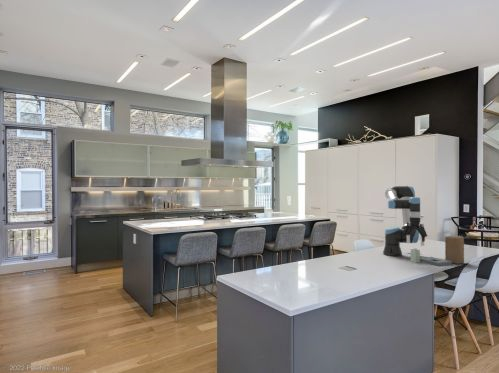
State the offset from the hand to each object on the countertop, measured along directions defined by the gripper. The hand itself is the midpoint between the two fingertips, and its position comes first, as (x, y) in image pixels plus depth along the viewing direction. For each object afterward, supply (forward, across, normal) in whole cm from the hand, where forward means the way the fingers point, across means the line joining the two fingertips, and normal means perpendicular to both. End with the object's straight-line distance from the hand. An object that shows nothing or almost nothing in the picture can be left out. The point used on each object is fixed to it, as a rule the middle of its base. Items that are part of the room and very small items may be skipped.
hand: (415, 244), depth 265 cm
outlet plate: (+14, +8, +11) cm, 19 cm away
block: (+14, +13, +26) cm, 32 cm away
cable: (+13, -8, +21) cm, 26 cm away
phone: (+13, -6, +13) cm, 20 cm away
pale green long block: (+14, 0, 0) cm, 14 cm away
